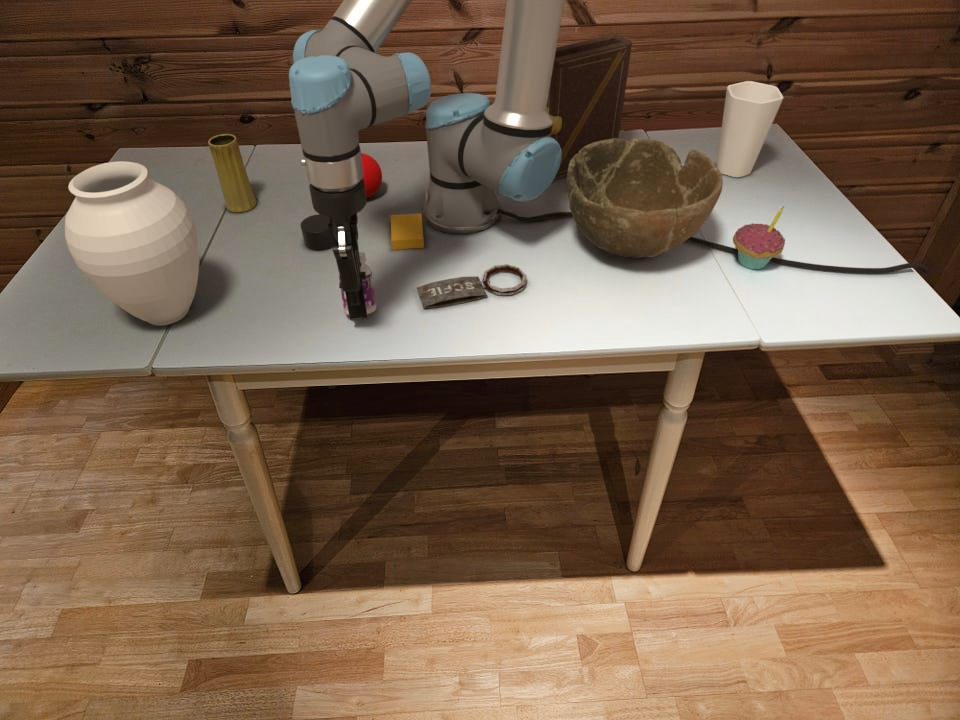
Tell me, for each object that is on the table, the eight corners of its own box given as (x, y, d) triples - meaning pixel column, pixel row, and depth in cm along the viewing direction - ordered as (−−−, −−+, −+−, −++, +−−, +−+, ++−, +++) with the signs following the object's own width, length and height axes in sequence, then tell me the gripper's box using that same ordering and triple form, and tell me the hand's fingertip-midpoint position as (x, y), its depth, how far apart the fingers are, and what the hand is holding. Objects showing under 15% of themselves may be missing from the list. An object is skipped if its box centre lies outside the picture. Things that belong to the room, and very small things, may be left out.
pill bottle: (344, 318, 106) (335, 260, 102) (344, 308, 111) (335, 252, 107) (378, 314, 107) (370, 255, 103) (376, 304, 111) (368, 248, 108)
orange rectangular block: (422, 222, 130) (421, 213, 129) (424, 247, 124) (423, 238, 122) (392, 224, 130) (390, 215, 128) (392, 249, 123) (391, 240, 122)
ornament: (339, 188, 140) (331, 143, 133) (380, 182, 142) (374, 137, 135) (344, 209, 134) (336, 164, 127) (388, 202, 136) (382, 157, 129)
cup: (700, 172, 143) (719, 94, 131) (717, 154, 149) (736, 77, 137) (751, 186, 139) (775, 106, 127) (766, 167, 145) (790, 89, 133)
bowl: (601, 191, 138) (610, 122, 127) (725, 231, 126) (746, 158, 116) (531, 253, 122) (535, 180, 111) (666, 305, 110) (685, 229, 100)
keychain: (414, 286, 115) (414, 277, 113) (518, 267, 119) (518, 258, 117) (424, 313, 109) (423, 304, 108) (532, 292, 113) (533, 283, 112)
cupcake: (776, 253, 121) (798, 195, 112) (775, 280, 115) (798, 221, 107) (728, 245, 123) (745, 187, 114) (725, 271, 117) (743, 212, 109)
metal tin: (339, 231, 128) (335, 213, 125) (337, 249, 123) (333, 231, 121) (306, 233, 128) (302, 215, 125) (303, 251, 123) (298, 233, 120)
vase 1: (98, 353, 103) (19, 214, 86) (124, 285, 116) (60, 153, 99) (214, 340, 105) (160, 202, 88) (227, 275, 118) (182, 143, 101)
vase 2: (260, 198, 137) (243, 133, 128) (250, 213, 133) (231, 147, 123) (232, 197, 138) (213, 132, 128) (221, 212, 134) (200, 146, 124)
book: (598, 146, 152) (612, 32, 135) (622, 161, 147) (639, 44, 130) (519, 171, 145) (523, 52, 127) (541, 187, 139) (547, 66, 122)
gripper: (312, 161, 94) (337, 293, 110) (304, 204, 85) (332, 343, 100) (364, 158, 95) (381, 290, 110) (362, 201, 85) (381, 339, 101)
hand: (358, 315), depth 105 cm, fingers closed
